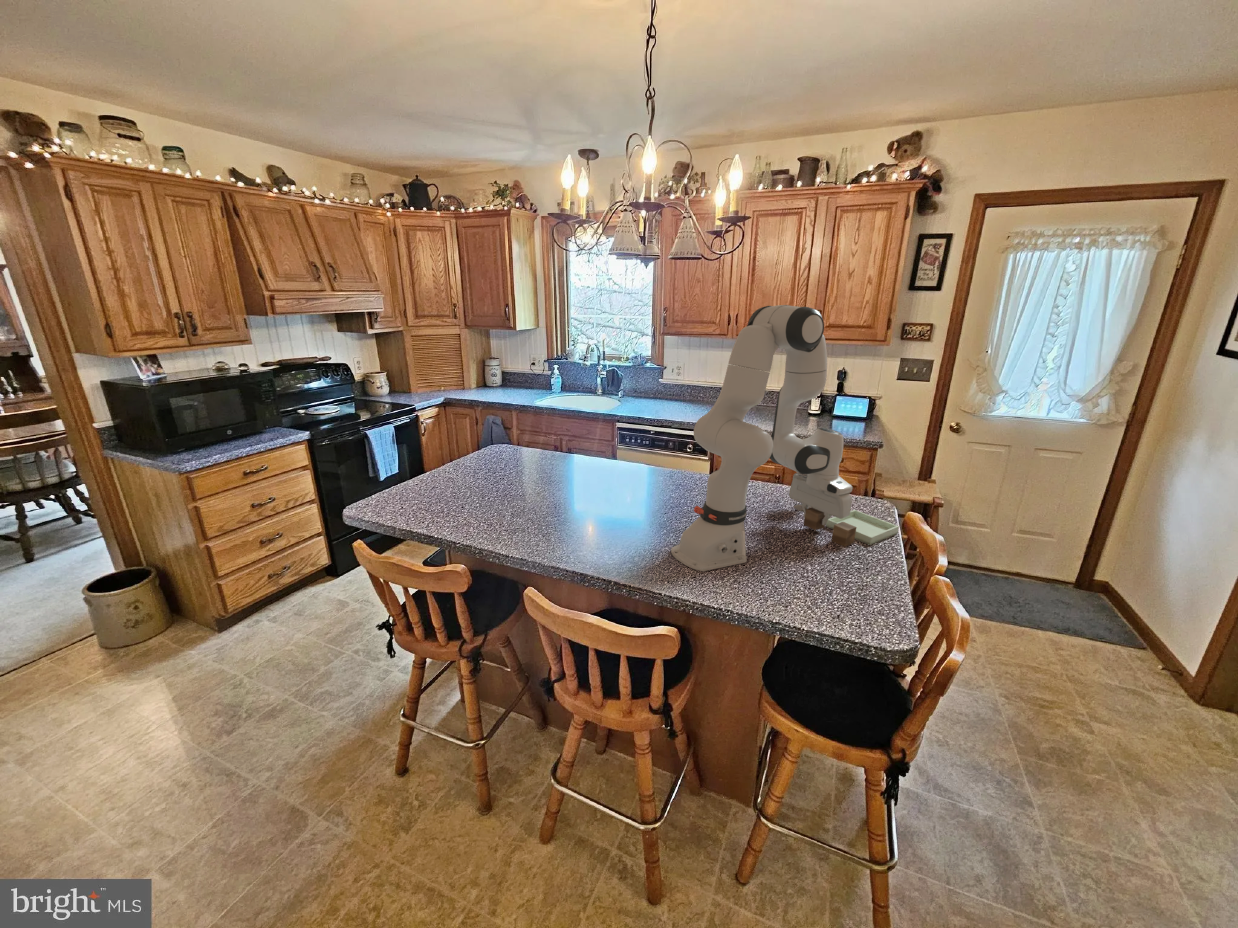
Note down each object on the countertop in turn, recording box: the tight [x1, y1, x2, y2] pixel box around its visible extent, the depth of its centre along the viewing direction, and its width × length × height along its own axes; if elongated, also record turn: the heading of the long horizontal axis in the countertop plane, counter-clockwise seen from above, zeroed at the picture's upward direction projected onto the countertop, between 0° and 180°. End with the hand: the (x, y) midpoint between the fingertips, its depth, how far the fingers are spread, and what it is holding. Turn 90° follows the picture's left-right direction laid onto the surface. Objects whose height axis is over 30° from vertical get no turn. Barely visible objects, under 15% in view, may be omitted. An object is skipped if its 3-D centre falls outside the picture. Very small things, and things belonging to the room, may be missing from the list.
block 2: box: [830, 522, 856, 548], centre depth 150 cm, size 4×4×6 cm
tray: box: [825, 509, 900, 546], centre depth 159 cm, size 15×15×2 cm
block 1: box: [803, 507, 826, 531], centre depth 157 cm, size 4×4×6 cm
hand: (814, 520), depth 158 cm, fingers closed on block 1, 4 cm apart
